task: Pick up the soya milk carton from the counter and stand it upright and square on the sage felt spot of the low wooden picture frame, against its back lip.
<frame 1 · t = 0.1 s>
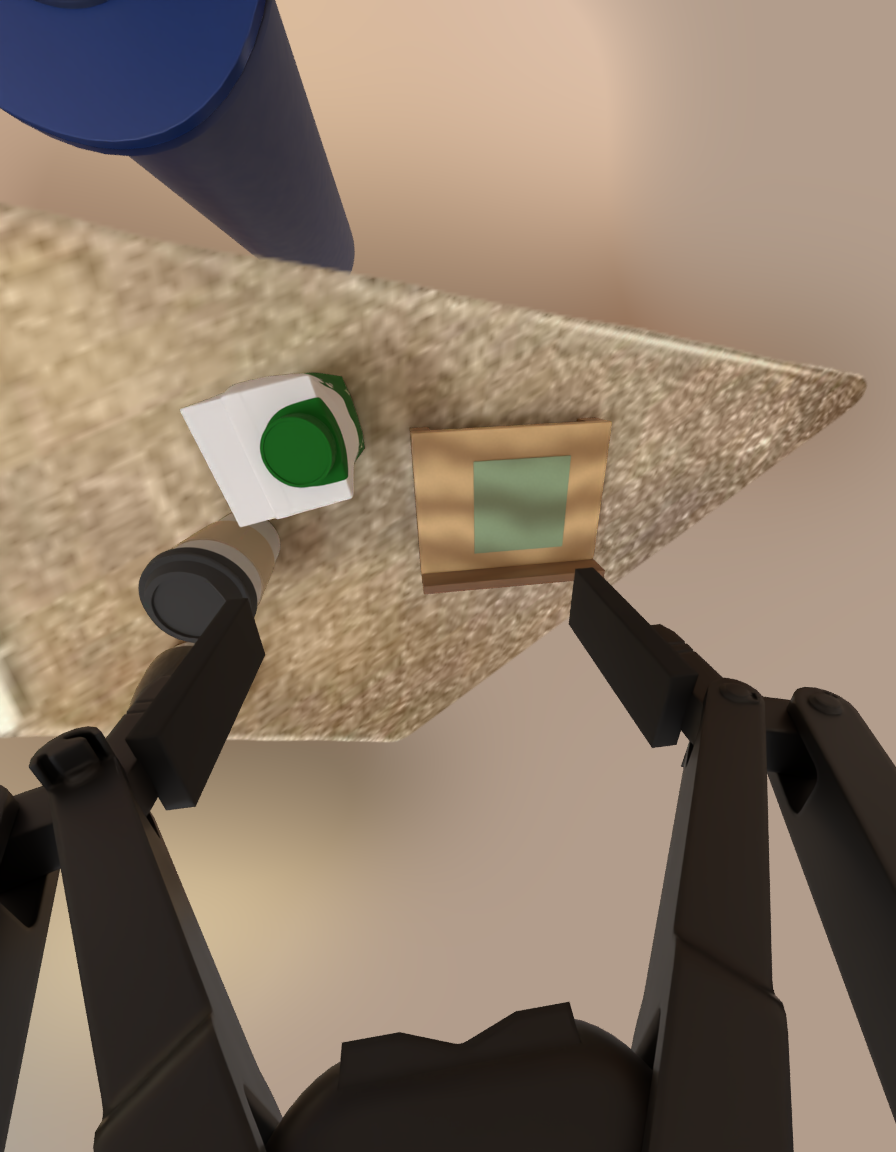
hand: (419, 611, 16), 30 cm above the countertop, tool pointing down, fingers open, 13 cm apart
soya milk: (319, 422, 41), on the countertop
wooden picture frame: (502, 496, 46), on the countertop
coffee cup: (249, 540, 46), on the countertop
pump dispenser: (210, 660, 52), on the countertop
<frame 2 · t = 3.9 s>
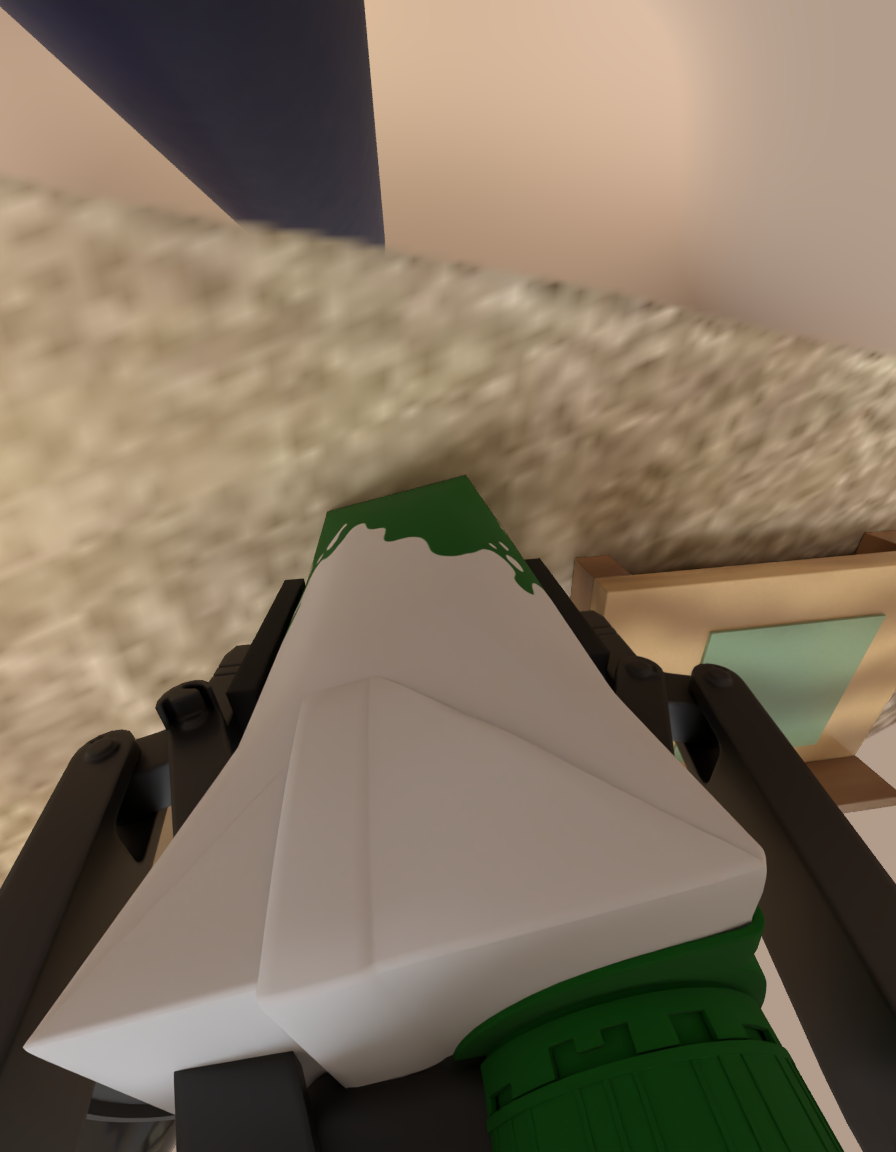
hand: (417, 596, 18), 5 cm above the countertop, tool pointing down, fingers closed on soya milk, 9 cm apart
soya milk: (413, 552, 22), on the countertop, touching gripper
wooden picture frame: (705, 652, 27), on the countertop
coffee cup: (275, 733, 26), on the countertop
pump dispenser: (208, 884, 33), on the countertop
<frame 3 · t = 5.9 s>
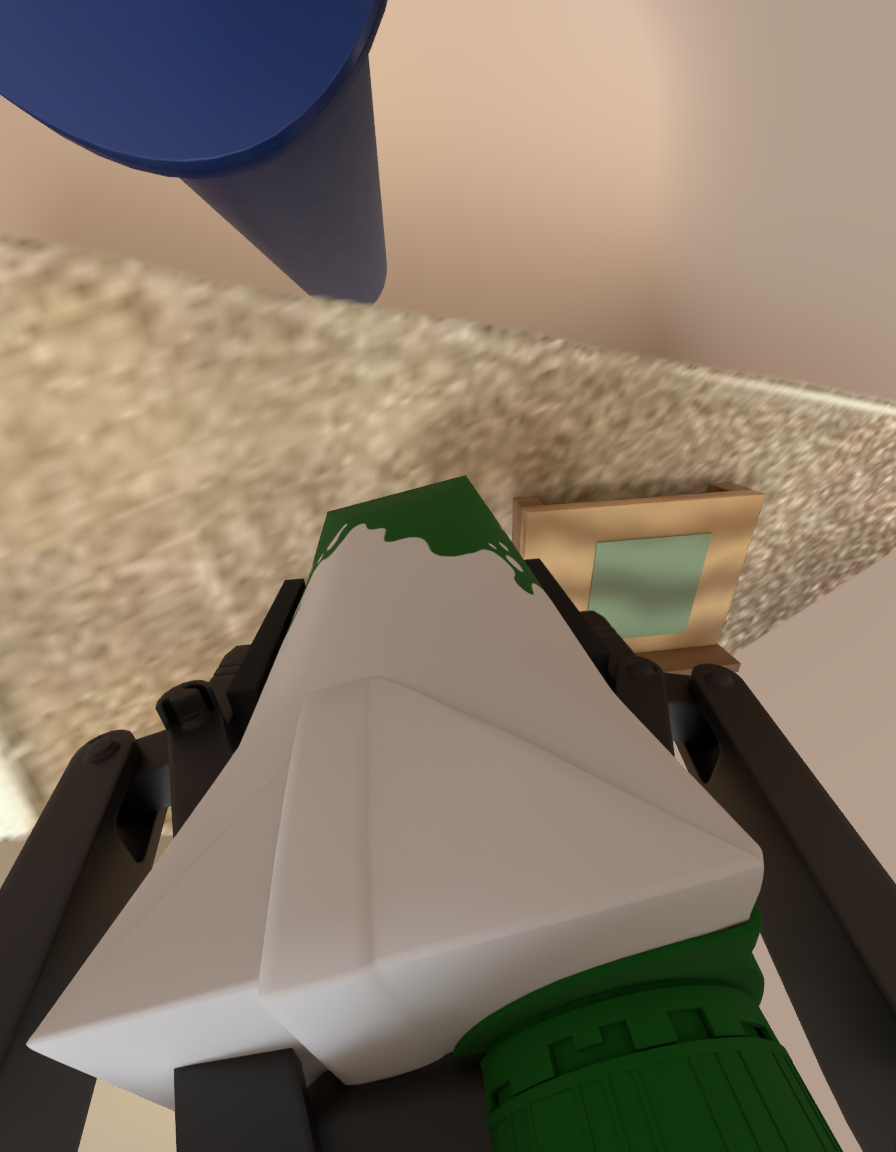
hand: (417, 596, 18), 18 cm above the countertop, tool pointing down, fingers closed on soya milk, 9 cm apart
soya milk: (413, 553, 22), point 13 cm above the countertop, touching gripper
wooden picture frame: (611, 571, 39), on the countertop
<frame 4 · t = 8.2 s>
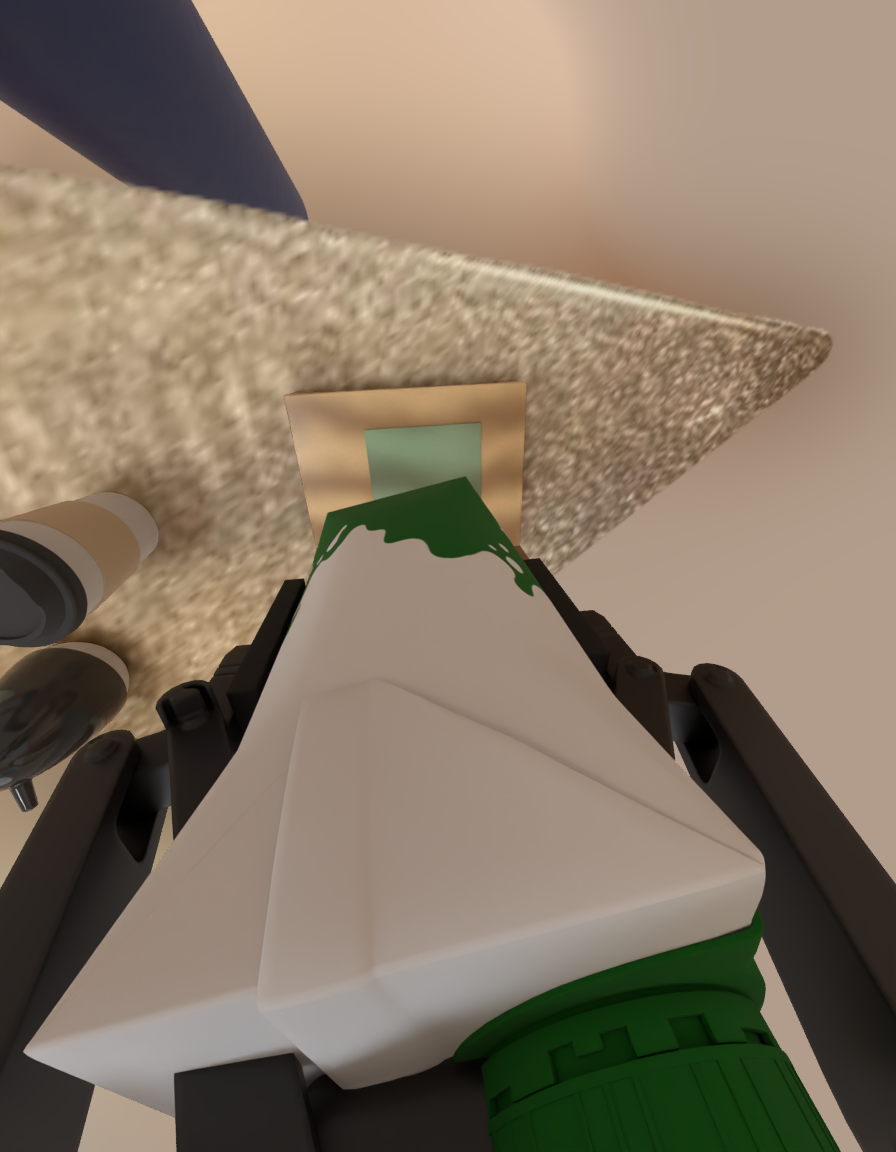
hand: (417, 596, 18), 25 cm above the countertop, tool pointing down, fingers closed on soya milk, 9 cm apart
soya milk: (413, 553, 22), point 21 cm above the countertop, touching gripper
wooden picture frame: (414, 474, 40), on the countertop
coffee cup: (121, 525, 40), on the countertop
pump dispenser: (97, 663, 46), on the countertop
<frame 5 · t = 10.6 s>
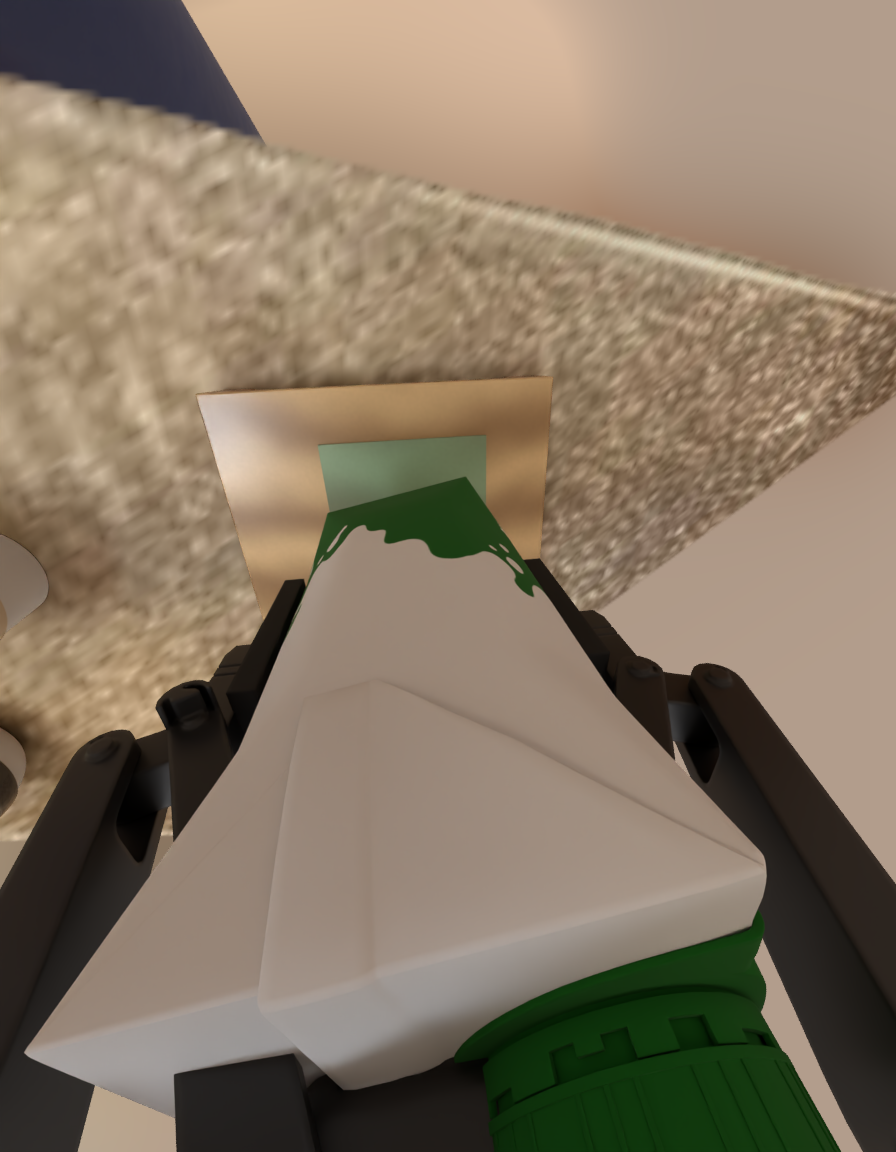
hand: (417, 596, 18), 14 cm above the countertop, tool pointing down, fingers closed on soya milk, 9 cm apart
soya milk: (413, 554, 22), point 9 cm above the countertop, touching gripper
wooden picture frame: (395, 502, 30), on the countertop
when the fingers open (9 cm above the countertop, at t = 12.5 s): soya milk stays where it is, resting on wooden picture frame.
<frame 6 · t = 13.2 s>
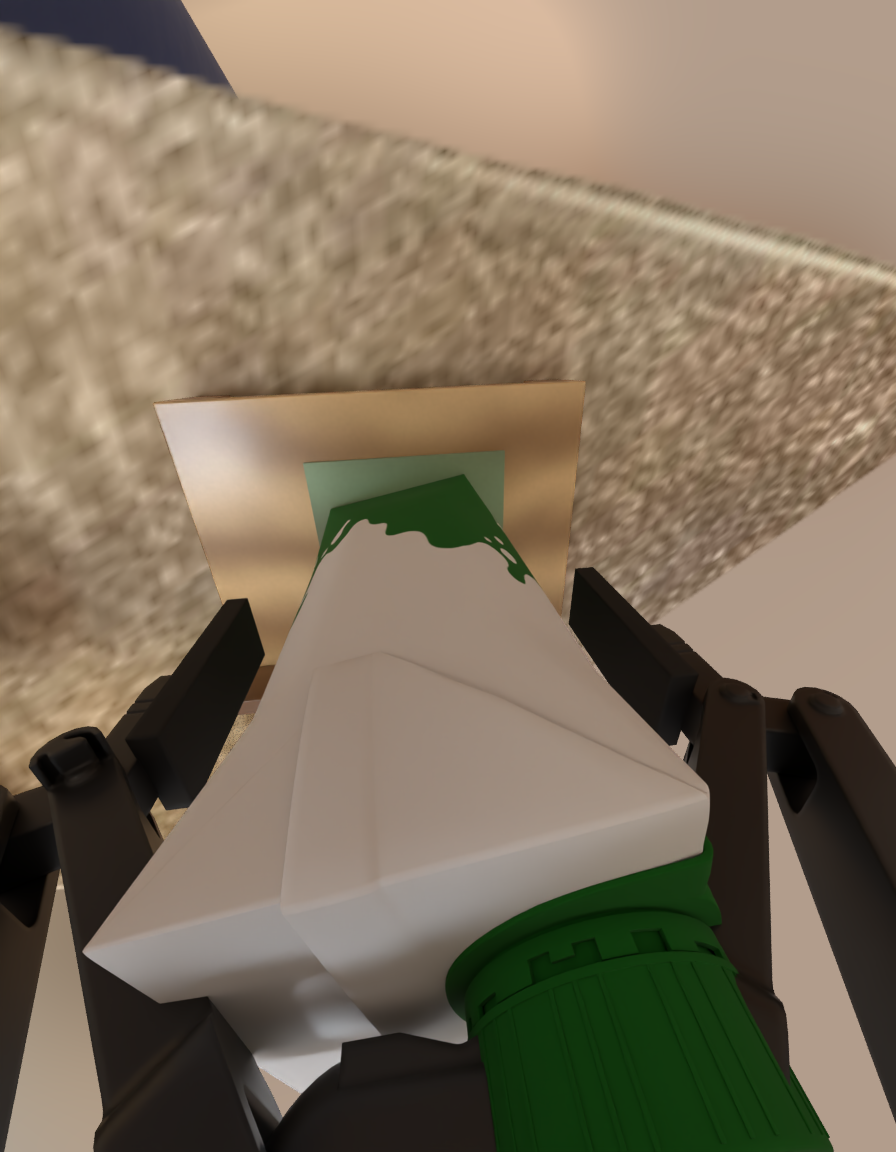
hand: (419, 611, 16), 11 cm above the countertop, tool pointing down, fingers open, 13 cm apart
soya milk: (413, 549, 22), point 4 cm above the countertop, touching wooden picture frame
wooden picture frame: (395, 525, 26), on the countertop
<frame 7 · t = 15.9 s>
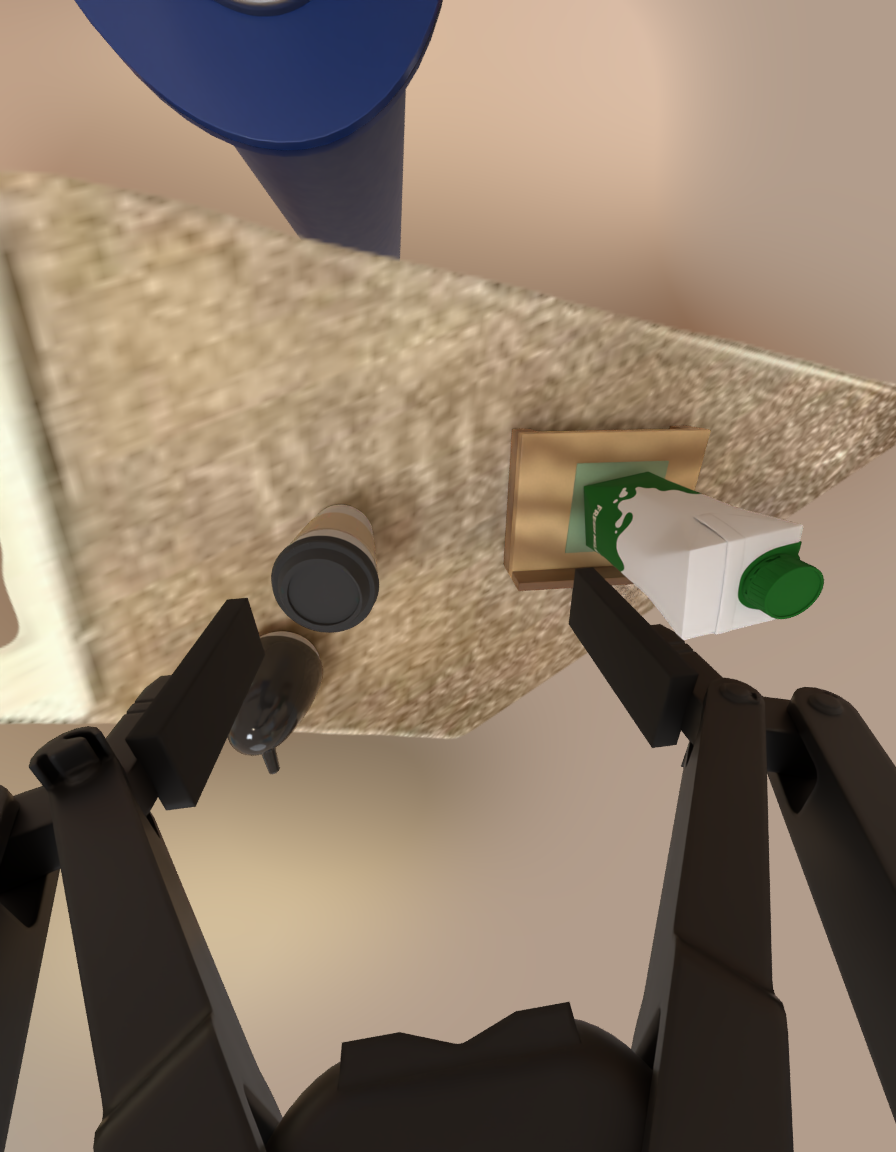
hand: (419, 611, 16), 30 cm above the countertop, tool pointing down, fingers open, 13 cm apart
soya milk: (614, 508, 44), point 4 cm above the countertop, touching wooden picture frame
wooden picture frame: (590, 498, 48), on the countertop
coffee cup: (343, 533, 46), on the countertop
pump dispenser: (287, 651, 53), on the countertop
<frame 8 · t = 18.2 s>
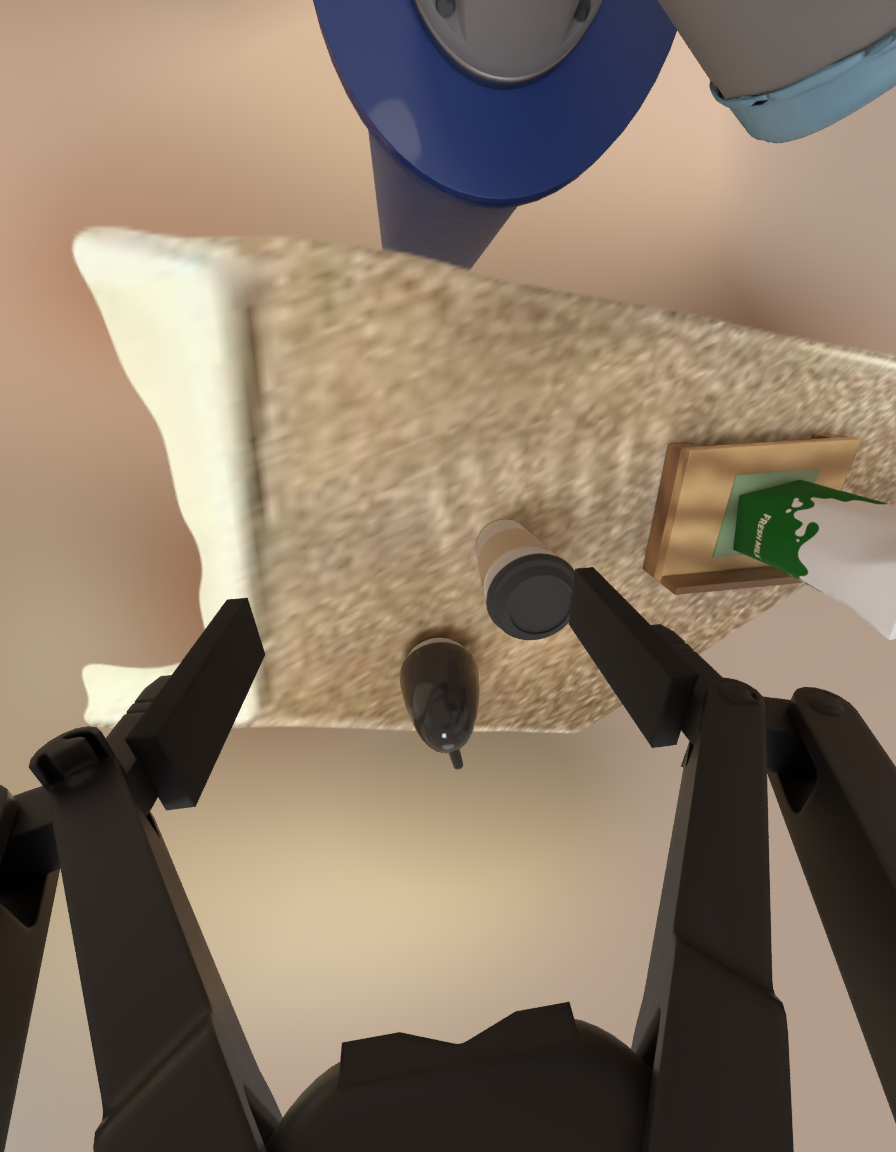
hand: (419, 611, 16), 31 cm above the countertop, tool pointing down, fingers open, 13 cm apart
soya milk: (763, 515, 47), point 4 cm above the countertop, touching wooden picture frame
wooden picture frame: (730, 505, 51), on the countertop
coffee cup: (502, 545, 50), on the countertop
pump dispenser: (436, 655, 56), on the countertop
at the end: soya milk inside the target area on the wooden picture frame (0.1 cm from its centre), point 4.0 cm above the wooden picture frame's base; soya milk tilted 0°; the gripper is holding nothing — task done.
